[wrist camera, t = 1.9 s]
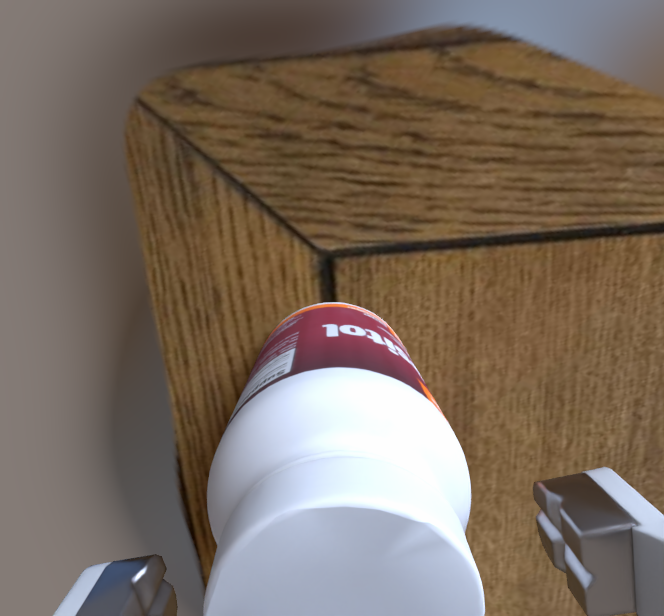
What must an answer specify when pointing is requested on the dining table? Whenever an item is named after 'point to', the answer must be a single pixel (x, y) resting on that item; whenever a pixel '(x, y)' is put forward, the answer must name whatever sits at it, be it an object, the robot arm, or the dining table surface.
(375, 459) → the pill bottle
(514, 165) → the dining table surface
